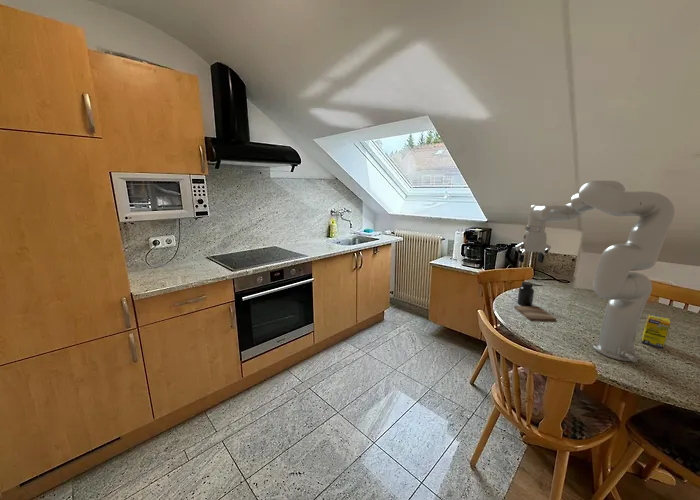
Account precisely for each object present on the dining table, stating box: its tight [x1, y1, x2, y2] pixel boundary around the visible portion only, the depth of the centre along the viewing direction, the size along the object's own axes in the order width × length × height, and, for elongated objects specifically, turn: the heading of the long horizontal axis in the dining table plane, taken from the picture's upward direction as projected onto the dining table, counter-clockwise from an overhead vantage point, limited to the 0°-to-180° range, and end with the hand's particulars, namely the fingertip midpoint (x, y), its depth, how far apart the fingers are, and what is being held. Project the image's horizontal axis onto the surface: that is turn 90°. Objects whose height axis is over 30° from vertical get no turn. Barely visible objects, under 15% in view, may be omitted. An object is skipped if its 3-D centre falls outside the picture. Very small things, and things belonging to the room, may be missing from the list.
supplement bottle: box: [517, 281, 535, 306], centre depth 149 cm, size 7×7×12 cm
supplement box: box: [641, 313, 671, 350], centre depth 112 cm, size 6×6×11 cm
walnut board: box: [513, 305, 557, 322], centre depth 139 cm, size 14×12×1 cm
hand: (530, 261), depth 145 cm, fingers open, 9 cm apart
